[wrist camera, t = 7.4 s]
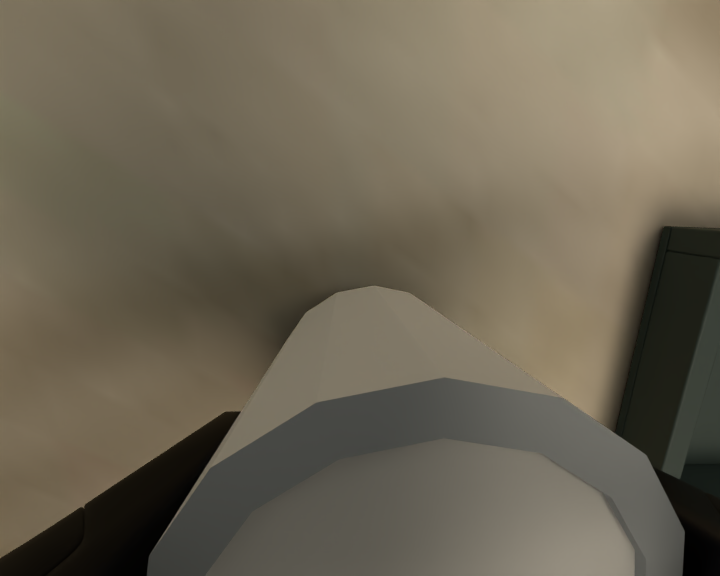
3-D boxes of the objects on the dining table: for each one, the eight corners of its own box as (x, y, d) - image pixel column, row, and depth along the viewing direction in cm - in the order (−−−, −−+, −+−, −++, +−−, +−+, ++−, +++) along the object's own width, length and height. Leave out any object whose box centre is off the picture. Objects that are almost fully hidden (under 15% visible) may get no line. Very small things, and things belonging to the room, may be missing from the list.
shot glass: (375, 214, 10) (460, 240, 3) (521, 371, 11) (791, 616, 5) (211, 375, 11) (1, 668, 4) (367, 503, 12) (406, 876, 5)
